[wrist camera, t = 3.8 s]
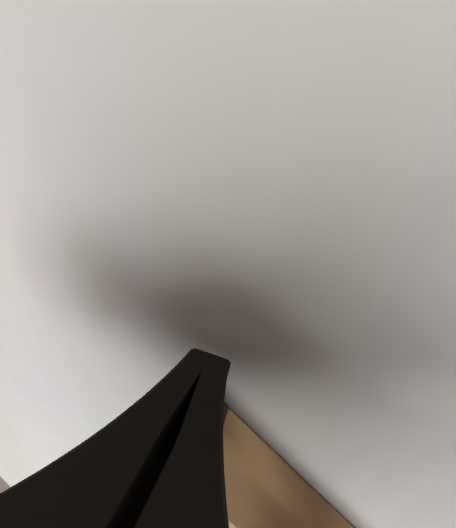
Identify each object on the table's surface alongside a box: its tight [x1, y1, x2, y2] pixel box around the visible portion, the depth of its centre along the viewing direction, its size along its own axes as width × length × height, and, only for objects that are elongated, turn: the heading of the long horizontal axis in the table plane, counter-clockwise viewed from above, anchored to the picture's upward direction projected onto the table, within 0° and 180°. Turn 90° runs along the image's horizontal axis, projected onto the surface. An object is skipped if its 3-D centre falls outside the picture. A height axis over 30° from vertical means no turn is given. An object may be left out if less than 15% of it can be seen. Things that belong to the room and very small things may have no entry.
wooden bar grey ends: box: [223, 403, 354, 528], centre depth 12 cm, size 12×2×4 cm, turn 45°
